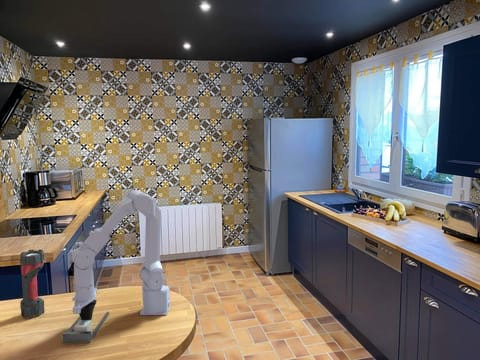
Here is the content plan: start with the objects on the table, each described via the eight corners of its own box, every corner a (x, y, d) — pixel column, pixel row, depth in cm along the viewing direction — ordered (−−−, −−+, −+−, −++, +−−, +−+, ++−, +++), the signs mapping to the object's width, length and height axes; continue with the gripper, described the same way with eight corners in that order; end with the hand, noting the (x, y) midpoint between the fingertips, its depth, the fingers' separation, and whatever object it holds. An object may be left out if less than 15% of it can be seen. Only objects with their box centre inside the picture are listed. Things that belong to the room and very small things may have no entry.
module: (92, 330, 122) (91, 319, 121) (87, 337, 118) (86, 325, 117) (80, 330, 122) (79, 319, 121) (74, 337, 118) (73, 325, 117)
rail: (109, 314, 132) (108, 306, 131) (90, 342, 115) (89, 333, 114) (85, 314, 132) (84, 306, 131) (62, 343, 115) (61, 334, 114)
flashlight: (54, 310, 135) (49, 249, 131) (35, 321, 128) (29, 257, 124) (38, 307, 138) (33, 247, 134) (19, 317, 130) (13, 254, 127)
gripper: (81, 275, 128) (83, 312, 130) (61, 294, 113) (64, 336, 115) (102, 275, 128) (104, 312, 130) (84, 294, 113) (87, 335, 115)
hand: (87, 323), depth 122 cm, fingers closed
